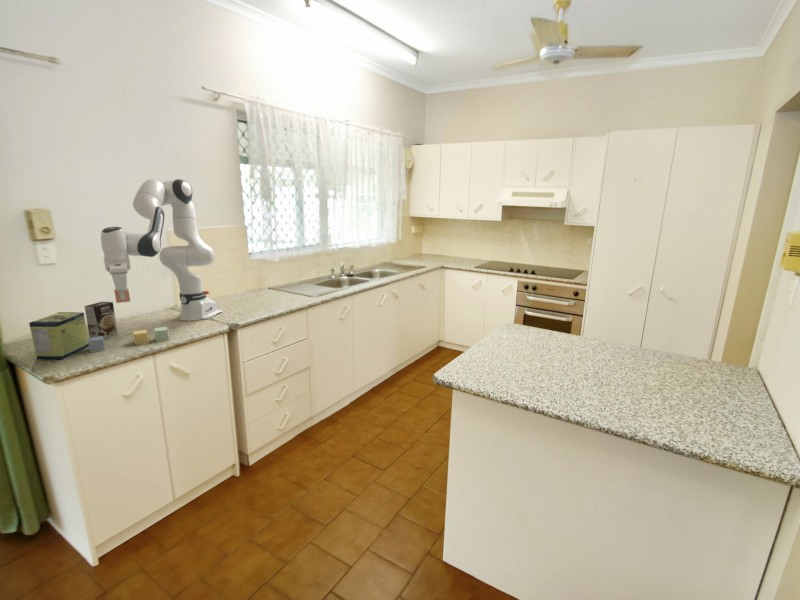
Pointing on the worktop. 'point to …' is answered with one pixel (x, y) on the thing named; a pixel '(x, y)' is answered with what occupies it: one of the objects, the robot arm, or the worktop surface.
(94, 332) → the coffee box
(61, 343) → the protein box
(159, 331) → the sage block
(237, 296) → the worktop surface
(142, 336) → the ochre block
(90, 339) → the slate block
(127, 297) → the terracotta block
